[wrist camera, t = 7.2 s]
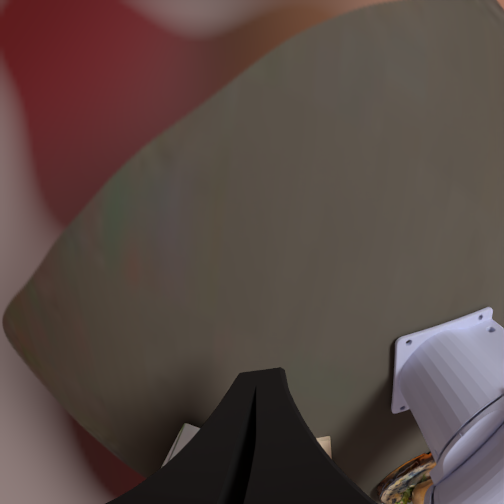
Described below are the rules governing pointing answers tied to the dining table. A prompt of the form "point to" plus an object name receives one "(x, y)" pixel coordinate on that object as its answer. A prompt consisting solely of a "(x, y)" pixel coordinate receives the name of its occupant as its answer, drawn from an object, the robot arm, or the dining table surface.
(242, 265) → the dining table surface
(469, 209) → the dining table surface
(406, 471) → the burger
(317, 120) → the dining table surface
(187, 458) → the robot arm
